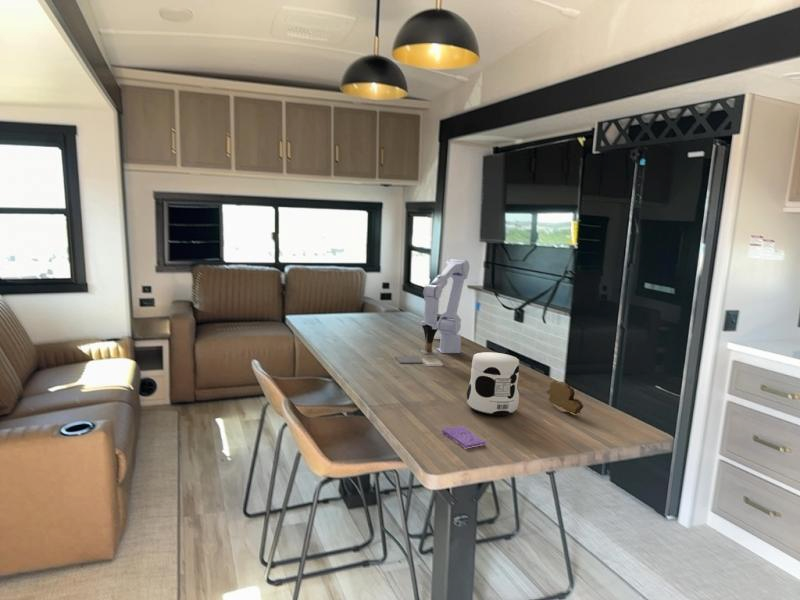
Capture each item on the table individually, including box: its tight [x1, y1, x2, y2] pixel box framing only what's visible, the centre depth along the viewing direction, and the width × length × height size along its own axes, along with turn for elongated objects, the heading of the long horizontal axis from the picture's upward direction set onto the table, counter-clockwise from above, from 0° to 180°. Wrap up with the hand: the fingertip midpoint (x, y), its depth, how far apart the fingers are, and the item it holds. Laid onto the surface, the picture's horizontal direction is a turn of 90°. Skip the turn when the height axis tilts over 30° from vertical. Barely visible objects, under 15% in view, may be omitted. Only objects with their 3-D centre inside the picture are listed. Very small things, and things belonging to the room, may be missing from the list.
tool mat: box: [394, 355, 424, 365], centre depth 235 cm, size 10×10×1 cm
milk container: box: [466, 351, 520, 416], centre depth 178 cm, size 17×17×18 cm
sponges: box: [441, 425, 487, 448], centre depth 155 cm, size 7×13×2 cm, turn 28°
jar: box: [433, 313, 441, 340], centre depth 282 cm, size 9×8×12 cm
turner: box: [419, 333, 440, 356], centre depth 237 cm, size 7×6×9 cm
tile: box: [420, 357, 444, 367], centre depth 233 cm, size 7×1×9 cm
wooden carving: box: [545, 380, 584, 415], centre depth 182 cm, size 16×5×10 cm, turn 28°
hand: (428, 341), depth 238 cm, fingers closed on turner, 2 cm apart
